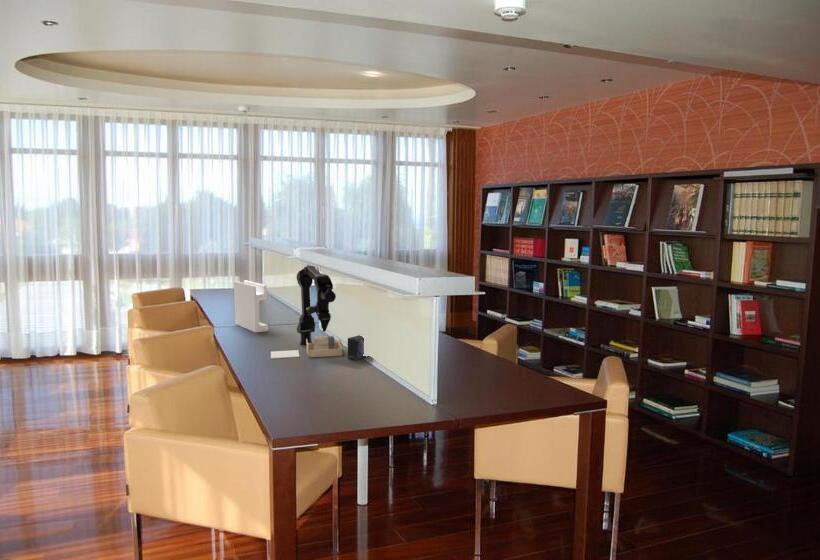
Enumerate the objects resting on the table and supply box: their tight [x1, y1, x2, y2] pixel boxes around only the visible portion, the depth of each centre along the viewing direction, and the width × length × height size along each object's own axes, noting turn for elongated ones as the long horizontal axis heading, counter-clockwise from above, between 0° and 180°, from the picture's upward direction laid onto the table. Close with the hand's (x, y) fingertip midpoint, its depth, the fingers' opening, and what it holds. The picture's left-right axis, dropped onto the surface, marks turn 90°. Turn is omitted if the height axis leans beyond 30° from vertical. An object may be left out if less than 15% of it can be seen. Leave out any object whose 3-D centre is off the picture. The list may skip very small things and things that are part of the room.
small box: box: [347, 334, 367, 361], centre depth 316 cm, size 11×6×10 cm, turn 143°
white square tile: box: [270, 349, 300, 360], centre depth 323 cm, size 14×14×1 cm
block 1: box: [233, 279, 269, 334], centre depth 396 cm, size 35×8×28 cm, turn 35°
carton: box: [305, 337, 344, 358], centre depth 327 cm, size 17×17×6 cm
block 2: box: [313, 335, 335, 350], centre depth 327 cm, size 5×10×8 cm, turn 102°
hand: (323, 329), depth 326 cm, fingers open, 9 cm apart
